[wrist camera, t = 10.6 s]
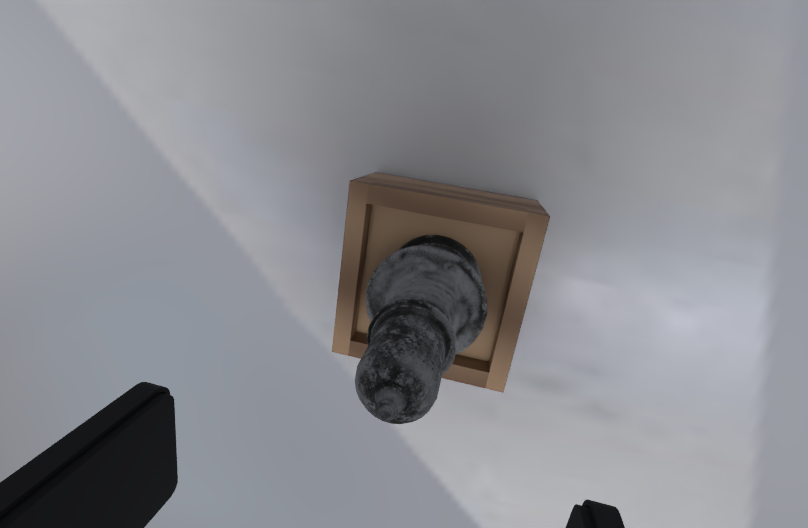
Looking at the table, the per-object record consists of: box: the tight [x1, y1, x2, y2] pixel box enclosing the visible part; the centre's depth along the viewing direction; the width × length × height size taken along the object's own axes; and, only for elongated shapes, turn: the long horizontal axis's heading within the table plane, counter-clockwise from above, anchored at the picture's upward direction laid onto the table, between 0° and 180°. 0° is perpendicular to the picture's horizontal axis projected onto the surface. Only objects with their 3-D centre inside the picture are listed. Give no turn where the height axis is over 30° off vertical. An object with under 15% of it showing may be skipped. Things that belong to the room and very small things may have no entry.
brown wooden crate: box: [332, 172, 550, 392], centre depth 25 cm, size 10×10×5 cm
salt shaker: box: [355, 235, 487, 424], centre depth 18 cm, size 6×6×12 cm
